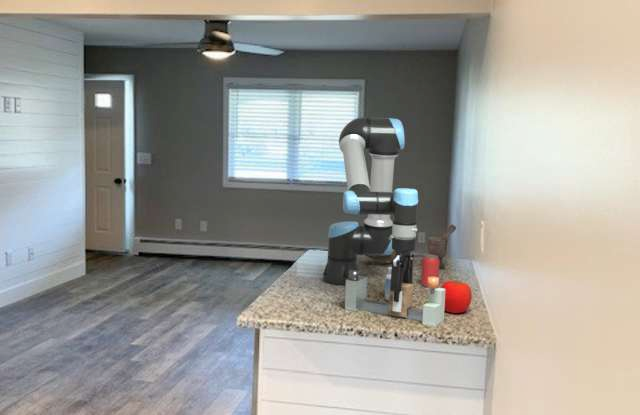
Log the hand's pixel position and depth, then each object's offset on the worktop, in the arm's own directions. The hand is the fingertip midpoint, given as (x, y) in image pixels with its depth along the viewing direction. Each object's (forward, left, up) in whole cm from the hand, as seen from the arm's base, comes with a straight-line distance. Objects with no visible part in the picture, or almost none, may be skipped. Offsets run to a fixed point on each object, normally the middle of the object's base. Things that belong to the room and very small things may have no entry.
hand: (400, 308), depth 193 cm
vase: (-38, +72, -3) cm, 81 cm away
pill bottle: (-10, +18, -3) cm, 21 cm away
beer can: (-6, +45, -3) cm, 45 cm away
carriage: (0, 0, -2) cm, 2 cm away
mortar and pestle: (-14, +82, -3) cm, 83 cm away
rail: (-4, 0, -2) cm, 5 cm away
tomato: (+13, +15, -3) cm, 20 cm away
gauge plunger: (+11, -2, +7) cm, 13 cm away
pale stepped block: (+11, 0, -2) cm, 11 cm away
